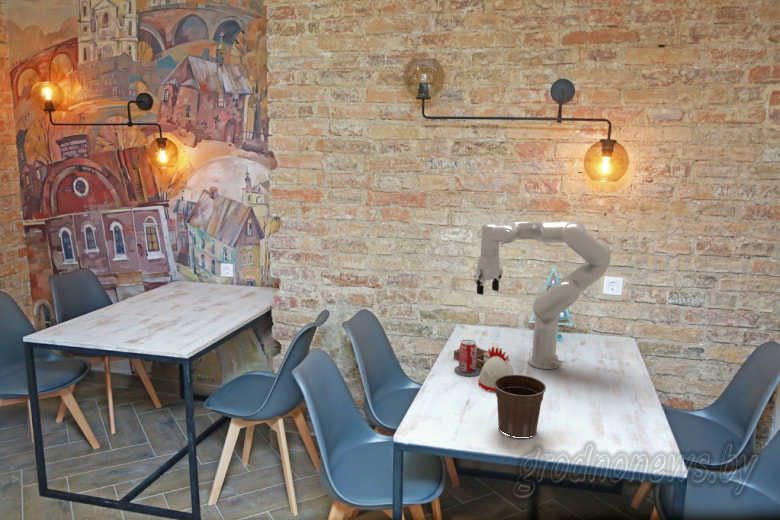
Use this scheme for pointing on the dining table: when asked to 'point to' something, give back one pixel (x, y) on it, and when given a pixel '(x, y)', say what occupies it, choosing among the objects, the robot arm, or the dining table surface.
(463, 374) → the coaster
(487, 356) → the sugar jar
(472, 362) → the soda can
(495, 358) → the beige crested helmet
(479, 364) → the caddy
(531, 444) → the dining table surface
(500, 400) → the plant pot
